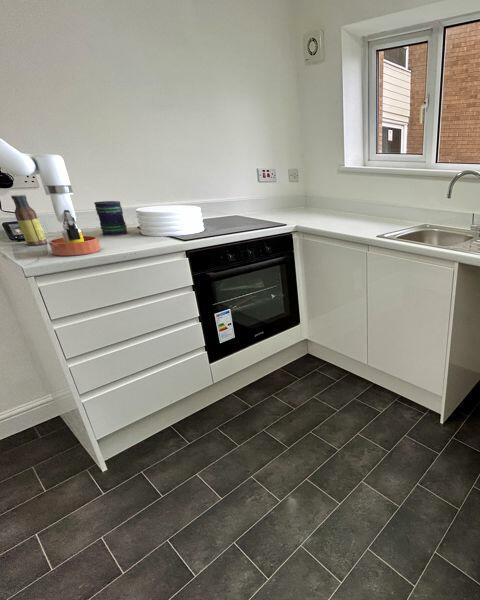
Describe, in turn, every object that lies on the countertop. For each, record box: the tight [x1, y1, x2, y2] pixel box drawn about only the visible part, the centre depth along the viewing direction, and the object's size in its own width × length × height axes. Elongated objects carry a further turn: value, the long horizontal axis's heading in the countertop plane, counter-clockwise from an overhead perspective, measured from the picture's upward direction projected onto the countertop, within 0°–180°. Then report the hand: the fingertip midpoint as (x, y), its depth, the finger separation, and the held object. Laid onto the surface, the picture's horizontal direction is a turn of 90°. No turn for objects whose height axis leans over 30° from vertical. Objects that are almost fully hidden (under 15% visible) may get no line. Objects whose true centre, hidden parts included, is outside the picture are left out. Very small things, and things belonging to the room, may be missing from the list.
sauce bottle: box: [10, 194, 48, 246], centre depth 143 cm, size 7×6×20 cm
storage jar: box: [93, 200, 129, 237], centre depth 168 cm, size 10×10×15 cm
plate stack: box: [135, 204, 205, 237], centre depth 180 cm, size 28×28×12 cm
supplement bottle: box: [61, 224, 84, 243], centre depth 135 cm, size 6×6×10 cm
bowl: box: [48, 235, 102, 257], centre depth 136 cm, size 14×14×5 cm
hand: (73, 237), depth 135 cm, fingers open, 7 cm apart
